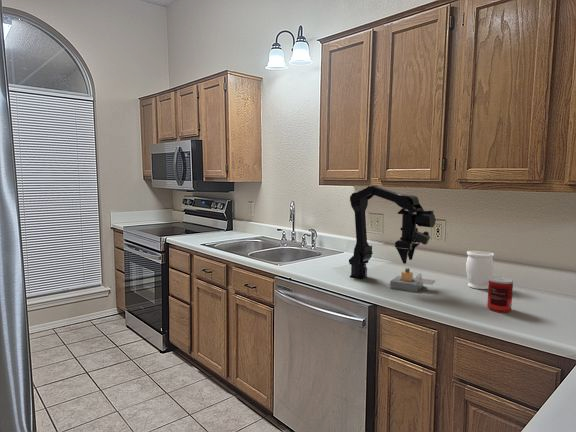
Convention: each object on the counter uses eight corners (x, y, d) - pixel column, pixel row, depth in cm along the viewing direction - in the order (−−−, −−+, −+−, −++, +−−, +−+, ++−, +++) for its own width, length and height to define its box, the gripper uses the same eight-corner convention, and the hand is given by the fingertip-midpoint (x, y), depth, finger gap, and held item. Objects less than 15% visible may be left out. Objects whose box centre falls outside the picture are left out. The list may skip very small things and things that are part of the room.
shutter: (416, 282, 168) (416, 276, 167) (419, 279, 172) (419, 273, 172) (432, 284, 164) (432, 278, 164) (435, 281, 169) (435, 275, 169)
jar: (459, 284, 176) (461, 251, 175) (477, 282, 180) (479, 249, 179) (479, 291, 167) (480, 255, 165) (497, 289, 170) (499, 254, 169)
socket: (390, 288, 171) (390, 281, 171) (397, 282, 180) (398, 275, 180) (416, 292, 165) (416, 284, 165) (423, 285, 174) (423, 279, 174)
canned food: (503, 305, 149) (505, 276, 147) (516, 313, 141) (518, 282, 139) (482, 305, 148) (484, 276, 147) (494, 313, 140) (496, 282, 139)
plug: (401, 285, 172) (401, 268, 172) (403, 284, 175) (403, 267, 174) (410, 287, 170) (411, 269, 170) (412, 285, 173) (413, 268, 172)
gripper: (423, 229, 158) (421, 268, 159) (433, 224, 174) (432, 260, 175) (395, 227, 164) (393, 264, 165) (407, 222, 179) (406, 257, 181)
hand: (407, 261), depth 171 cm, fingers open, 9 cm apart
